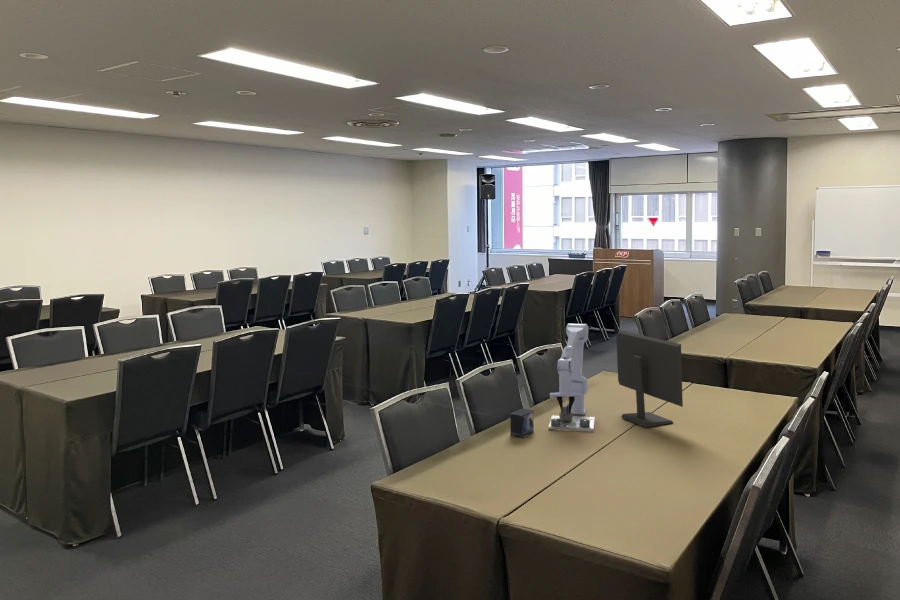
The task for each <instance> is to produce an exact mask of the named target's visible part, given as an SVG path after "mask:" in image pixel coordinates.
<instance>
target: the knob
mask: <svg viewBox="0 0 900 600" xmlns="http://www.w3.org/2000/svg"><path fill="white" fill-rule="evenodd" d="M558 416H559V419H560V420H561V421H572V416H573V414H572V413H569V402H565V403H564V404H563V407H562V413H561V411H560V412H559V413H558Z"/></svg>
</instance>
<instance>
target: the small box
mask: <svg viewBox="0 0 900 600" xmlns="http://www.w3.org/2000/svg"><path fill="white" fill-rule="evenodd" d="M509 415H510V416H509V417H510V418H509V419H510V422H509V423H510V424H509V425H510V427H509V428H510V431H509V432H510V434H509V435H510V437H514V438H519V439H523V438H525V437H527V436H530V435H531V434H533V433H534V410H532V409H528V408H523V407H521V408H519V409H518V410H515V411H513V412H511V413H509ZM532 432H533V433H532Z"/></svg>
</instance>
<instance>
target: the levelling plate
mask: <svg viewBox="0 0 900 600" xmlns="http://www.w3.org/2000/svg"><path fill="white" fill-rule="evenodd" d="M595 418H596V417H595V416H581V415H575V416H574V415H572V421H561V420H560V419H559V415H556V414H555V415H552V416H551V417H550V422H549V424H548V430H549V429H560V430H559V431H564V430H574V431H573V432H591V433H593V432H595V431H594V430H595V429H594V428H595Z"/></svg>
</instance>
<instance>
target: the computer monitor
mask: <svg viewBox="0 0 900 600" xmlns="http://www.w3.org/2000/svg"><path fill="white" fill-rule="evenodd" d="M616 357H617V358H616V361H617V362H616V363H617V365H616V366H617V381H618V385H619V386H622V387H625V388H627V389H631V390H633V391H635V399H636V412H629V413H623V414H622V415H621V416H620V417H621V418H622V419H624V420H626V421H629V422H631V423H633V424H636V425H637V426H639V427H643V428H644V429H645V428H652V427H658V426H664V425H665V426H666V425H670V423H671V424H674V421H673V420H672V419H671V420H670V419H668V418H665V417H663V416H661V415H658V414H656V413H652V412H650V411H646V407H645V406H646V405H645V395H648V396H650V397H654V398H656V399H659V400H662V401H665V402H668V403H671V404H674V405H676V406H679V407H681V408H683V406H684V405H683V403H684V402H683V374H682V373H683V368H682V363H683V362H682V344H681V343H678V342H674V341H669V340H664V339H660V338H656V337H651V336H647V335H642V334H638V333H633V332H629V331H626V330H619V331H618V332H617V334H616Z"/></svg>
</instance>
